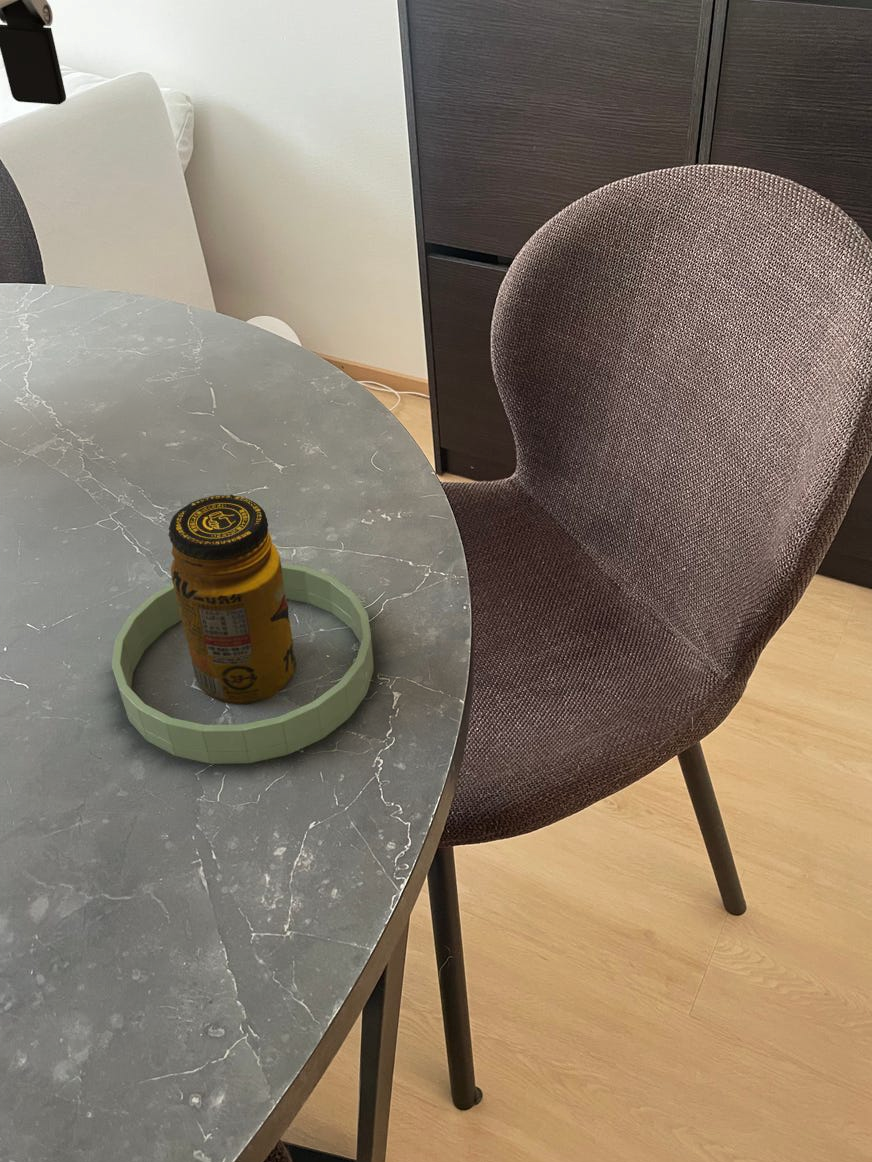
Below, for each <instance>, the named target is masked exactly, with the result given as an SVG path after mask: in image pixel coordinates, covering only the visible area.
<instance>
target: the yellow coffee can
mask: <svg viewBox="0 0 872 1162" xmlns="http://www.w3.org/2000/svg"><path fill="white" fill-rule="evenodd" d="M168 530H169V532H168V537H169V541H170V543H171V544H172V549H171V555H172V556H173V560H172V563H171V567H170V569H171V570H170V577H171V580H172V583H173V585H174V589H175V593H176V597H177V601H178V606H179V610H180V614H181V618H182V620H181V622H182V626H183V632H184V635H185V638H186V643H187V648H188V650H189V651H188V652H189V655H190V660H191V664H192V668H193V672H194V677H195V680H196V682H197V684H198V686H199V687H200V689H201V691H203V692H204V693H205V694H206V695H207V696H209V697H210V698H212V699H214V700H216V701H219V702H222V703H227V704H234V705H235V704H236V705H244V704H250V703H255V702H260V701H263V700H266V699H269V698H272V697H273V696H275V695H276V694H278V692H279V691H280V690H282V689H283V688H285V686H286V685H287V684H288V683H289V682H290V680H291V679H292V677H293V676H294V673H295V671H296V667H297V661H296V660H297V659H296V654H295V649H294V640H293V634H292V627H291V621H290V616H289V615H290V614H289V605H288V603H287V599H286V593H285V588H284V581H283V575H282V566H281V563H282V562H281V557H280V554H279V552H278V550H277V547H276V546H275V544H274V543H273V542H272V536H271V534H270V531H269V523H268V518H267V515H266V512H265V511H264V509H263V507H261V506H260V505H259V504H258V503H256V502H255V501H253V500H250V499H249V498H247V497H241V496H239V495H238V496H237V495H234V494H228V495H227V494H222V495H220V494H217V495H211V496H207V497H204V498H199V499H196V500H195V501H191V502H190V503H188V504H187V505H185V506H183V507H182V508H180V509H179V510H178V511H177V512H176V513H175V514H174V515H173V516H172V518H171V520H170V522H169V527H168Z"/></svg>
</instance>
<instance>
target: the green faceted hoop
mask: <svg viewBox="0 0 872 1162" xmlns="http://www.w3.org/2000/svg"><path fill="white" fill-rule="evenodd" d="M281 566H282V575H283V581H284V588H285V593H286V600H290V601H295V602H301V603H305V604H306V603H307V604H310V605H312V606H315V607H316V608H320V609H321V610H323V611H327V612H328V613H331V614H333V615H334V616H335V617H337V618H338V619H339V620H341V622H343V623H344V624H345V625H347V626H348V627H349V628H350V629H351V630H352V631H353V633H354V635H355V637H356V638H357V640H358V642H359V643H360V646H359V649H358V651H357V655H356V658H355V661H354V662H353V663H352V664H351V666H350V667H349V668H348V670H347V671H346V672H345V674H344V675H343V677H341V679H340V680H339V682H338V683H337V682H336V684H335V685H333V686H332V687H331V688H329V689H328V690H326V691H325V692H324V693H323V694H321V695H320V696H319V697H317V698H316V699H314V700H313V701H312V702H309V703H307V704H305V705H303V706H300V707H298V708H296V709H294V710H291V711H289V712H286V713H284V714H282V715H280V716H275V717H271V718H265V719H262V720H256V721H252V722H248V723H243V724H242V723H241V724H240V723H239V724H238V723H237V724H233V723H232V724H203V723H199V722H194V721H189V720H185V719H179V718H176V717H171V716H169V715H168V714H165V713H163V712H161V711H160V710H157V709H156V708H153V707H151V706H150V705H148V704H146V703H145V702H144V701H143V700H142V699H141V698H140V696H138V694H136V693H135V691H133V689H132V685H133V684H132V683H133V675H134V671H135V669H136V668H137V666H138V664H139V662H140V661H141V659H142V656H144V655H143V654H144V653H145V651H146V650H147V649H148V648H149V647H150V646H151V645H152V644H153V643H154V642H155V641H156V640H157V639H158V638H159V637H160V636H161V635H162V634H163V633H164V632H165V631H166V630H168V629H170V628H171V627H173V626H174V625H176V624H177V623H179V622H182V618H181V614H180V610H179V606H178V601H177V597H176V593H175V589H174V585H173V582H172V583H170V584H168V585H167V586H165V587H164V588H162V589H160V590H158V591H157V592H155V593H153V594H152V595H151V596H149V597H148V598H147V599H146V600H145V601H143V603H141V605H139V606H138V607H137V608H136V609H135V610H134V611H133V612H132V613H131V614H130V615H128V617H127V619H126V621H125V622H124V624H123V626H122V627H121V629H120V631H119V632H118V634H117V635H116V638H115V640H114V644H113V653H112V659H111V668H112V671H113V674H114V679H115V682H116V684H117V688H118V690H119V693H120V697H121V701H122V704H123V706H124V710H125V712H126V716H127V719H128V721H129V722H130V723H131V725H132V726H133V727H134V728H135V729H136V730H137V731H138V733H139V734H140V735H141V736H142V737H143V738H144V739H145V741H147V742H148V743H150V744H152V745H154V746H156V747H158V748H160V749H161V750H163V751H166V752H167V753H169V754H171V755H173V756H174V757H175V756H176V757H178V758H183V759H186V760H192V761H196V762H202V763H206V764H211V765H212V764H213V765H214V764H218V765H219V764H221V765H223V764H225V765H226V764H253V763H256V762H261V761H266V760H270V759H275V758H279V757H285V756H287V755H290V754H292V753H295V752H297V751H299V750H302V749H303V748H306V747H308V746H311V745H312V744H315V743H316V742H319V741H321V740H323V739H324V738H326V737H327V736H328V735H330V734H331V733H332V732H333V731H335V730H336V729H337V728H339V727H340V726H341V725H342V724H344V723H345V722H346V721H348V720H349V719H350V718H351V716H352V715H353V714H354V712H355V711H356V710H357V708H358V707H359V706H360V704H361V703H362V701H363V700H364V698H365V697H366V696H367V694H368V691H369V689H370V685H371V681H372V677H373V675H374V670H375V666H374V665H375V664H374V655H373V643H372V642H373V641H372V634H371V626H370V625H371V624H370V617H369V614H368V612H367V611H366V609H365V607H364V606H363V604H362V602H361V601H360V599H359V597H358V596H357V594H356V593H354V592H353V590H351V589H350V588H348V587H347V586H346V585H344V584H343V583H342V582H340V581H339V580H338V579H337V578H335V577H333V576H332V575H331V576H330V575H328V574H326V573H323V572H321V571H318V570H316V569H314V568H311V567H308V566H303V565H298V564H291V563H287V562H281Z"/></svg>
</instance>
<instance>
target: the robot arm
mask: <svg viewBox="0 0 872 1162" xmlns="http://www.w3.org/2000/svg"><path fill="white" fill-rule="evenodd" d="M53 17H54V15H53V11H52V7H51V5H50V4H49V2H48V0H0V21H1V22H2V23H3V24H0V54H1V57H2V61H3V62H2V63H3V65H4V69H5V70H4V71H5V73H6V77H7V81H8V86H9V90H10V94H11V96H12V98H13V100H15V101H16V102H18V103H29V104H30V103H31V104H44V105H61V104H63V103H64V102H66V100H67V94H66V89H65V85H64V80H63V76H62V72H61V66H60V62H59V57H58V53H57V49H56V44H55V38H54V35H53V30H52V28H51V26H52V24H53V19H54V18H53Z"/></svg>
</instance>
